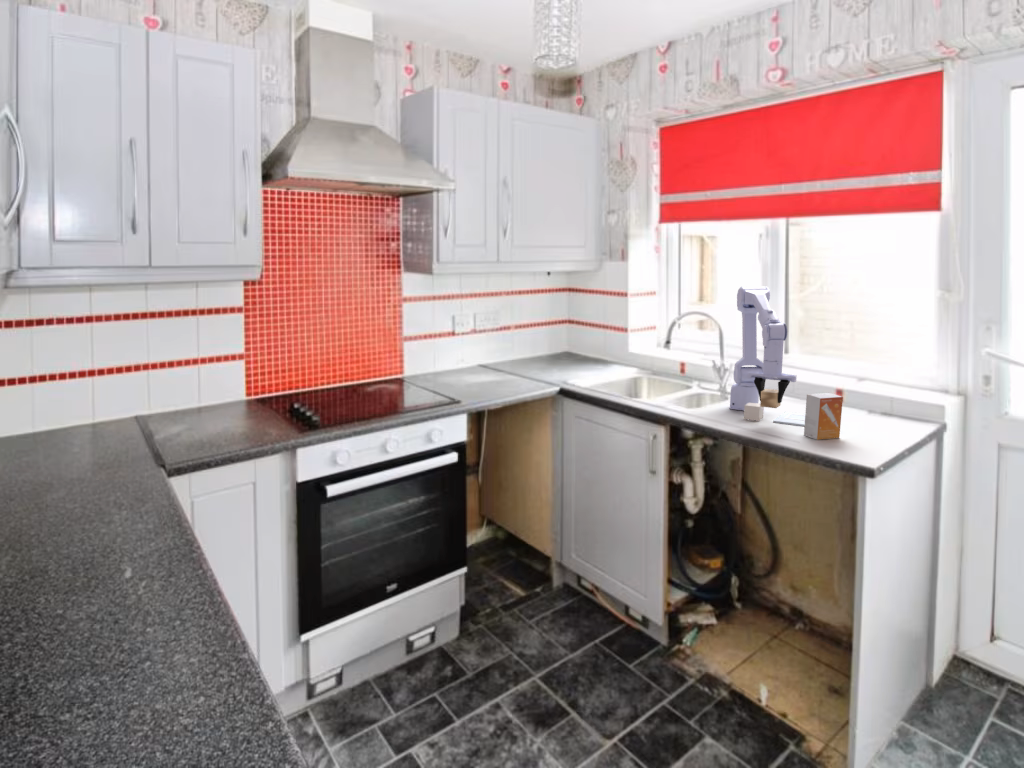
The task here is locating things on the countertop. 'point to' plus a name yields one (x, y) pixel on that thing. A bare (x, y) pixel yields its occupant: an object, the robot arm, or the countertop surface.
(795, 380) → the robot arm
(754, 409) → the top cube
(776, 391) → the base cube
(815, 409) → the small box
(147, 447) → the countertop surface
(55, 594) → the countertop surface
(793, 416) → the board
